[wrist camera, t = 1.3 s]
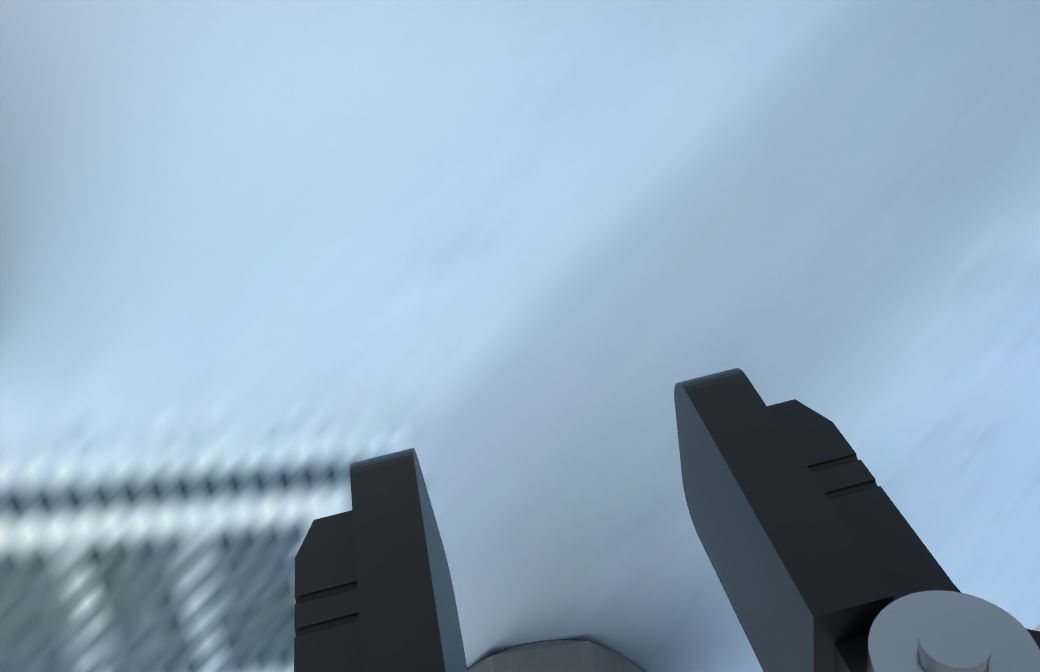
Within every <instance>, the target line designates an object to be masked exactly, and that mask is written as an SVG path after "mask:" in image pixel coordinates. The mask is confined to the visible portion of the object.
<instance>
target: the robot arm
mask: <svg viewBox="0 0 1040 672" xmlns="http://www.w3.org/2000/svg"><path fill="white" fill-rule="evenodd" d="M674 398H675V409H676V419H677V429H678V439H679V449H680V459H681V469H682V479H683V486H684V492H685V497H686V501H687V505H688V508H689V512H690V515H691V518H692V521H693V524H694V527H695V529H696V532H697V534H698V536H699V538H700V540H701V542H702V544H703V547H704V549H705V551H706V553H707V555H708V557H709V559H710V561H711V563H712V565H713V567H714V569H715V571H716V574H717V576H718V578H719V580H720V582H721V584H722V586H723V588H724V590H725V592H726V594H727V596H728V598H729V601H730V603H731V605H732V607H733V609H734V611H735V613H736V615H737V617H738V619H739V621H740V623H741V625H742V628H743V630H744V632H745V634H746V636H747V638H748V640H749V642H750V644H751V646H752V648H753V650H754V652H755V655H756V657H757V659H758V661H759V663H760V665H761V667H762V669H763V671H764V672H1040V632H1039V631H1034V630H1030V629H1026V628H1025V627H1024V626H1023V625H1022V624H1021V623H1020V622H1019V621H1018V620H1016V619H1015V618H1014V617H1013V616H1011V615H1010V614H1009V613H1008V612H1006V611H1004V610H1003V609H1001V608H1000V607H998V606H996V605H994V604H992V603H990V602H988V601H986V600H984V599H981V598H978V597H975V596H972V595H969V594H964V593H961V592H960V591H959V589H958V588H957V587H956V586H955V585H954V584H953V583H952V581H951V580H950V579H949V577H948V576H947V574H946V573H945V572H944V570H943V569H942V568H941V566H940V565H939V564H938V562H937V561H936V560H935V558H934V557H933V556H932V554H931V553H930V552H929V550H928V549H927V548H926V546H925V545H924V544H923V542H922V541H921V540H920V538H919V537H918V536H917V534H916V533H915V532H914V530H913V529H912V528H911V526H910V525H909V524H908V522H907V521H906V520H905V518H904V517H903V516H902V514H901V513H900V512H899V510H898V509H897V508H896V506H895V505H894V504H893V502H892V501H891V500H890V498H889V497H888V496H887V494H886V493H885V492H884V490H883V489H882V488H881V486H879V487H878V486H877V484H876V481H875V478H874V477H873V476H872V474H871V473H870V472H869V470H868V469H867V467H866V466H865V465H864V463H863V462H862V461H861V460H858V459H857V457H856V453H855V451H854V450H853V449H852V447H851V446H850V445H849V443H848V442H847V441H846V439H845V438H844V437H843V435H842V434H841V433H840V431H839V430H838V429H837V427H836V426H835V425H834V423H833V422H832V421H830V420H828V419H827V418H825V417H823V416H822V415H820V414H818V413H817V412H815V411H813V410H812V409H810V408H808V407H807V406H805V405H803V404H802V403H800V402H798V401H797V400H795V399H794V400H791V401H787V402H783V403H779V404H775V405H771V406H766V405H765V403H764V402H763V400H762V399H761V397H760V396H759V394H758V393H757V391H756V390H755V388H754V387H753V385H752V384H751V382H750V381H749V379H748V378H747V376H746V375H745V374H744V372H743V371H742V370H741V369H739V368H735V369H731V370H727V371H723V372H719V373H715V374H711V375H707V376H703V377H699V378H695V379H691V380H687V381H683V382H679V383H677V384H676V385H675V390H674ZM350 477H351V493H352V509H353V510H352V511H348V512H344V513H340V514H336V515H332V516H328V517H324V518H320V519H316V520H314V521H313V523H312V525H311V527H310V529H309V531H308V533H307V535H306V537H305V539H304V541H303V543H302V545H301V547H300V549H299V551H298V553H297V555H296V557H295V599H296V604H295V632H296V637H295V640H294V672H468V671H467V665H466V659H465V653H464V647H463V642H462V636H461V630H460V624H459V619H458V613H457V607H456V601H455V596H454V590H453V585H452V581H451V576H450V572H449V567H448V563H447V559H446V555H445V551H444V547H443V544H442V540H441V537H440V533H439V530H438V526H437V523H436V519H435V516H434V513H433V509H432V506H431V502H430V499H429V495H428V492H427V489H426V485H425V482H424V478H423V475H422V471H421V468H420V465H419V461H418V458H417V455H416V452H415V450H414V448H412V449H407V450H403V451H399V452H395V453H391V454H387V455H383V456H379V457H375V458H371V459H367V460H363V461H359V462H355V463H352V464H351V466H350Z"/></svg>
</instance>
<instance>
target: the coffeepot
mask: <svg viewBox="0 0 1040 672" xmlns="http://www.w3.org/2000/svg"><path fill="white" fill-rule="evenodd" d="M467 671H468V672H644V671H643V670H642V669H640V668H639V667H638V666H636V665H635V664H633V663H632V662H631V661H629V660H628V659H627V658H625V657H624V656H623V655H621V654H620V653H618V652H616V651H614V650H612V649H609V648H607V647H605V646H602V645H598V644H594V643H592V642H590V641H579V640H552V641H539V642H534V643H530V644H525V645H521V646H516V647H513V648H510V649H507V650H505V651H502V652H499V653H496V654H494V655H491V656H489V657H488V658H486V659H484V660H482V661H480V662H478V663H476V664H474V665H473V666H471V667H470V668H469V669H467Z"/></svg>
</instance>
